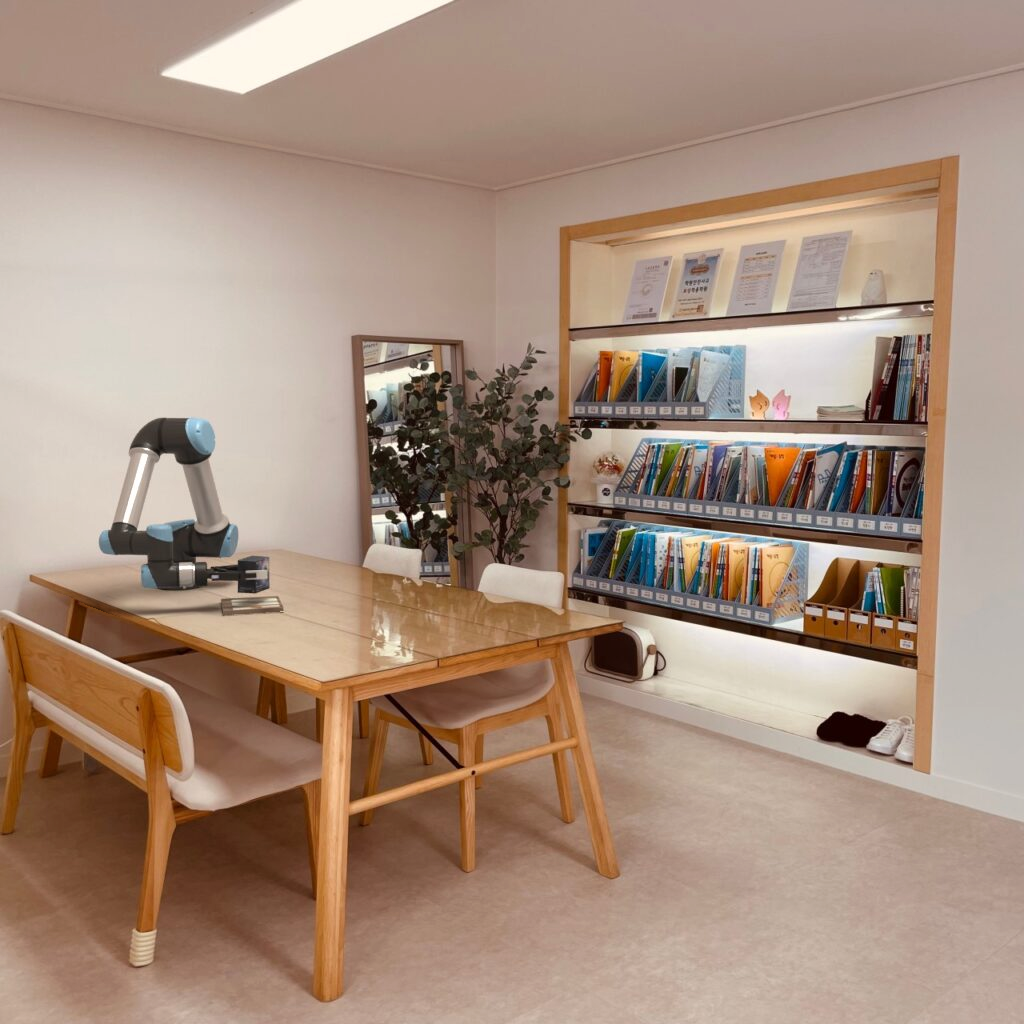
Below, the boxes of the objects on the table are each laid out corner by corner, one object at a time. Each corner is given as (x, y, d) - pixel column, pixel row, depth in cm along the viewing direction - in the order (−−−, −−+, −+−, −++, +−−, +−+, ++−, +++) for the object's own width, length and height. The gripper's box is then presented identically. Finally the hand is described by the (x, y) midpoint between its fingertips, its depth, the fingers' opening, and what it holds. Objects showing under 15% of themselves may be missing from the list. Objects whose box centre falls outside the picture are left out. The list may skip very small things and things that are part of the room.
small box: (256, 594, 324) (255, 560, 323) (236, 593, 326) (236, 559, 325) (270, 588, 335) (270, 555, 334) (252, 587, 336) (251, 555, 335)
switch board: (221, 603, 338) (220, 597, 337) (278, 600, 343) (278, 594, 343) (223, 615, 319) (223, 609, 318) (283, 612, 324) (283, 606, 324)
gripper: (194, 580, 336) (263, 577, 342) (194, 592, 313) (269, 589, 320) (193, 557, 335) (263, 554, 342) (194, 568, 313) (268, 565, 319)
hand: (266, 571), depth 331 cm, fingers closed on small box, 12 cm apart
